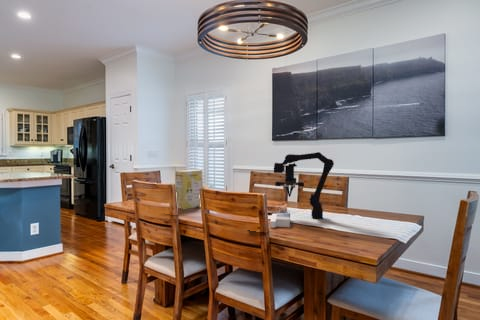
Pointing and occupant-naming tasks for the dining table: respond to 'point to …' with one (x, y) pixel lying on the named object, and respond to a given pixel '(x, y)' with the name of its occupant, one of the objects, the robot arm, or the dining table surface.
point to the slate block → (283, 214)
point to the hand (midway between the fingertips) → (289, 196)
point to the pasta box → (188, 188)
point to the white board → (273, 221)
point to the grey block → (282, 221)
